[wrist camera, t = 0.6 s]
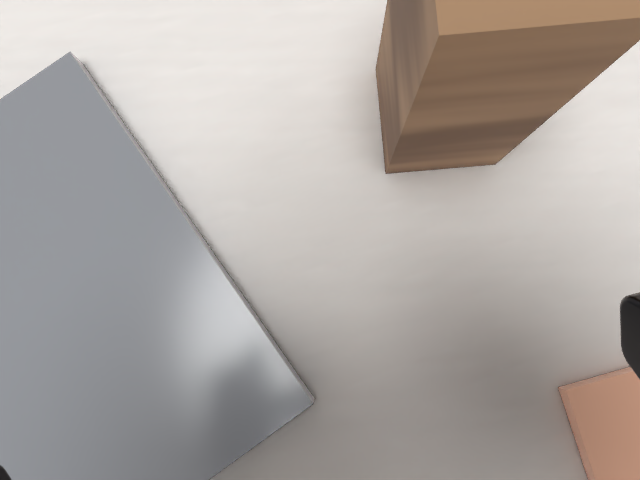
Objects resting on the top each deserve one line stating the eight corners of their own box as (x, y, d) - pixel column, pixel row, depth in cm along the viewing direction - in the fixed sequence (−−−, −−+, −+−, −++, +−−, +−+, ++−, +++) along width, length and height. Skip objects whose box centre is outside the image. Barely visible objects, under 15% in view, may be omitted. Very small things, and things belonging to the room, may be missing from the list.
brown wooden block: (495, 164, 21) (669, 15, 10) (385, 173, 21) (439, 35, 10) (482, 59, 21) (635, -192, 10) (375, 69, 22) (416, -171, 11)
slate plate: (314, 398, 20) (313, 403, 19) (-52, 664, 19) (-73, 684, 18) (82, 62, 22) (70, 51, 21) (-262, 297, 21) (-291, 296, 20)
